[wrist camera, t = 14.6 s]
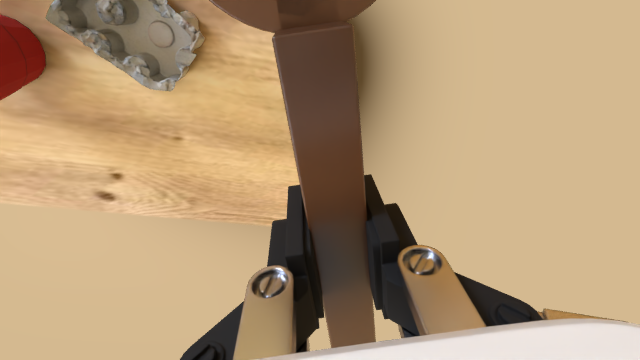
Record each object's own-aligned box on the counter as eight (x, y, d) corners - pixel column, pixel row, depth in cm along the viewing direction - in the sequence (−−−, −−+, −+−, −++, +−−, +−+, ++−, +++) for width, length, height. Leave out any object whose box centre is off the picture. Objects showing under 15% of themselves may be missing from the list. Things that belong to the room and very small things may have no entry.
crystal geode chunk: (216, 30, 29) (205, 33, 26) (176, 92, 32) (161, 103, 28) (101, -64, 25) (69, -76, 22) (66, 16, 28) (32, 17, 24)
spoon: (407, 307, 16) (430, 369, 14) (288, 324, 16) (286, 389, 14) (417, -339, 6) (511, -610, 4) (109, -289, 6) (-36, -514, 4)
